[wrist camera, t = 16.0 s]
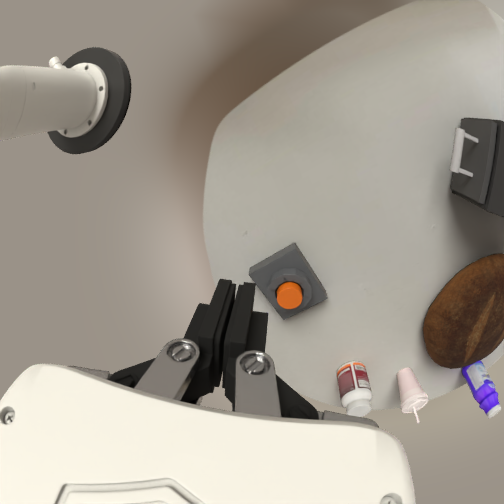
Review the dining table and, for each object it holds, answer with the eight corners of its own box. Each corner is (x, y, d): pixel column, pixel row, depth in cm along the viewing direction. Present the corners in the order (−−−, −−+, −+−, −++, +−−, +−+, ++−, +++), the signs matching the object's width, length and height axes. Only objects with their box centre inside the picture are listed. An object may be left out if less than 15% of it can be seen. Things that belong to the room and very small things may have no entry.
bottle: (483, 358, 48) (508, 405, 32) (470, 373, 50) (492, 420, 35) (471, 355, 48) (497, 405, 32) (457, 371, 50) (480, 421, 34)
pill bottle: (337, 381, 52) (343, 422, 43) (335, 363, 50) (341, 407, 40) (365, 374, 51) (374, 415, 41) (364, 356, 49) (375, 399, 39)
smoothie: (386, 380, 52) (399, 429, 39) (402, 361, 49) (420, 412, 36) (405, 382, 52) (420, 429, 39) (421, 365, 49) (440, 412, 37)
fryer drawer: (429, 182, 33) (457, 195, 26) (440, 109, 28) (470, 109, 21) (500, 206, 32) (527, 222, 25) (511, 146, 27) (540, 154, 20)
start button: (272, 288, 40) (271, 295, 38) (293, 277, 39) (294, 284, 37) (285, 305, 41) (285, 312, 39) (306, 295, 40) (306, 302, 38)
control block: (250, 267, 43) (247, 280, 39) (294, 242, 40) (295, 253, 37) (283, 311, 46) (283, 327, 42) (325, 290, 43) (329, 305, 40)
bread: (405, 364, 49) (416, 394, 41) (436, 251, 38) (461, 277, 30) (493, 342, 45) (508, 364, 38) (528, 244, 34) (552, 262, 26)
